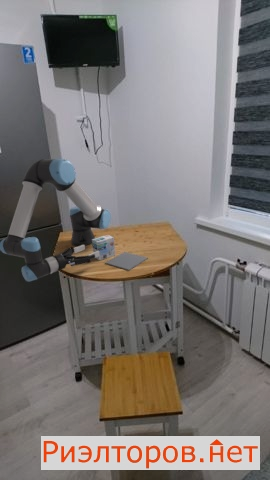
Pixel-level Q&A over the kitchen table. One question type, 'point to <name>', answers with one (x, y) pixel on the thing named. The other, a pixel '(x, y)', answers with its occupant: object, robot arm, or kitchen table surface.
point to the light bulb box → (104, 246)
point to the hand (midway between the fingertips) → (91, 250)
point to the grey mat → (126, 261)
